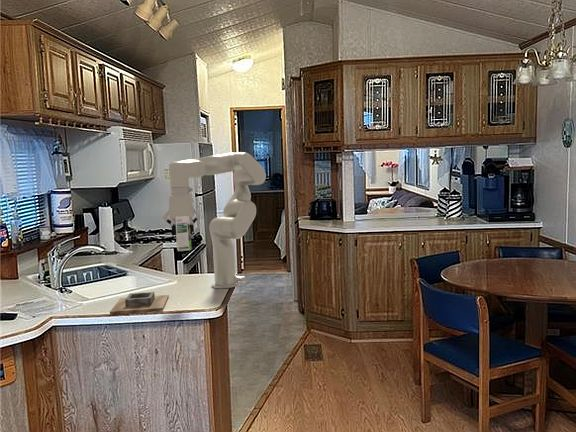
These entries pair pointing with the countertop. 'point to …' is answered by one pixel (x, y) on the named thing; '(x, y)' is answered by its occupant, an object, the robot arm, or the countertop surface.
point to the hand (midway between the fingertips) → (183, 234)
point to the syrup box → (183, 233)
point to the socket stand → (140, 303)
